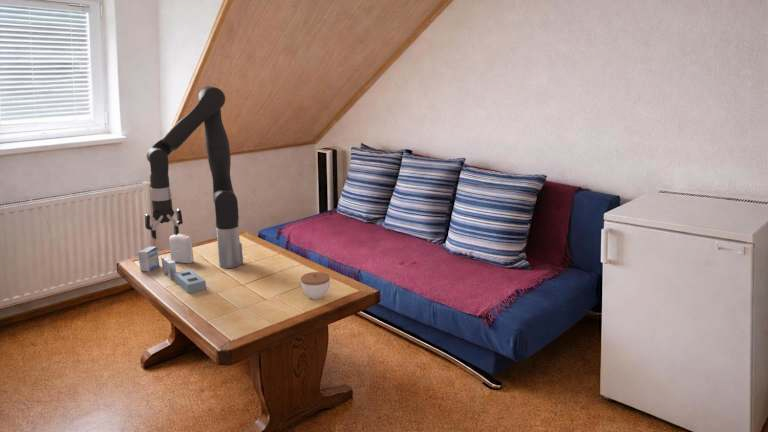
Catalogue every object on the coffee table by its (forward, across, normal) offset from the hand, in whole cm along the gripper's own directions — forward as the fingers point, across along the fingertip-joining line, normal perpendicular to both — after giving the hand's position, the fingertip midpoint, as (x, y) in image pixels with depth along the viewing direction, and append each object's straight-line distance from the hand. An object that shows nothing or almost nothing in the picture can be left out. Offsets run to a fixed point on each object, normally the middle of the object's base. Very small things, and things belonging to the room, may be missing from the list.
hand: (165, 236), depth 255 cm
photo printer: (+17, -10, -14) cm, 24 cm away
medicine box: (+17, +4, -14) cm, 22 cm away
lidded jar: (+17, -37, +56) cm, 69 cm away
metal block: (+17, 0, 0) cm, 17 cm away
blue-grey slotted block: (+17, -3, +16) cm, 23 cm away
